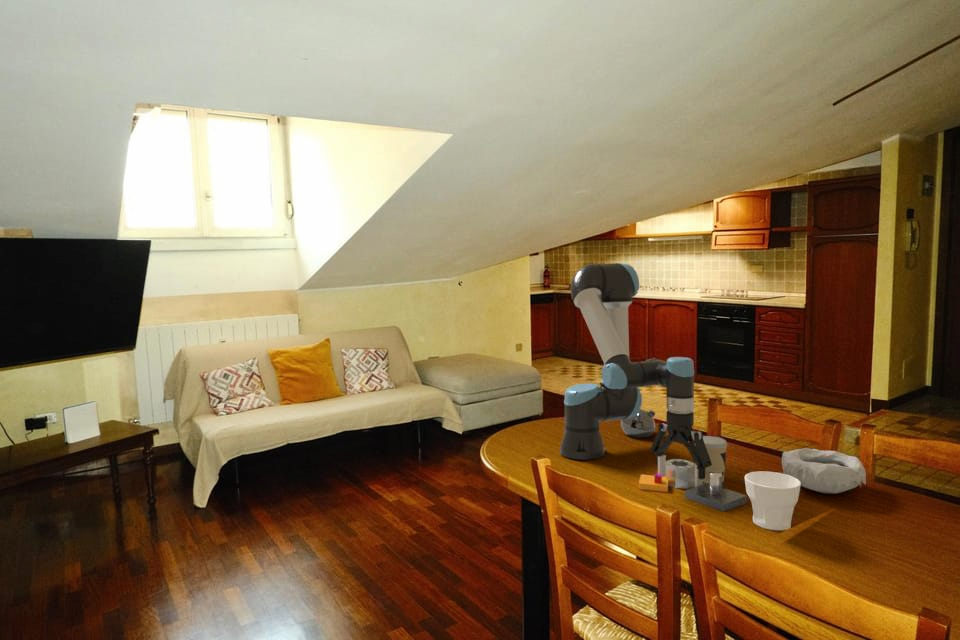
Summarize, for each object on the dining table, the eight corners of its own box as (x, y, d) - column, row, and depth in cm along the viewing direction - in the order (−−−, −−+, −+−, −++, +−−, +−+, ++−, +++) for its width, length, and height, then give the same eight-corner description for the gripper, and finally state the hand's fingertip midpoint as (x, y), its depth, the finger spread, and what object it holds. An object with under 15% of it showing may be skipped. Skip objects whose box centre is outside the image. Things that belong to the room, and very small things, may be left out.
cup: (774, 538, 138) (775, 491, 138) (732, 518, 150) (733, 475, 149) (812, 528, 143) (813, 483, 143) (768, 510, 155) (769, 468, 154)
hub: (659, 482, 176) (659, 462, 176) (677, 477, 181) (677, 457, 180) (682, 490, 170) (682, 469, 169) (700, 484, 174) (700, 464, 174)
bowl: (795, 473, 182) (796, 440, 181) (874, 489, 167) (875, 454, 167) (770, 491, 168) (770, 456, 167) (853, 511, 153) (854, 472, 152)
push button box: (638, 490, 172) (638, 476, 171) (641, 481, 179) (641, 467, 179) (667, 493, 169) (667, 479, 168) (668, 484, 176) (669, 470, 176)
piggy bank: (642, 446, 213) (642, 415, 212) (612, 437, 225) (612, 407, 225) (664, 441, 218) (664, 410, 218) (634, 432, 231) (634, 403, 230)
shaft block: (684, 497, 164) (684, 471, 164) (707, 490, 170) (707, 464, 169) (723, 511, 154) (724, 483, 154) (746, 502, 160) (746, 475, 159)
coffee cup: (729, 485, 173) (730, 444, 172) (695, 484, 175) (696, 443, 174) (723, 474, 182) (723, 436, 181) (691, 473, 184) (691, 435, 183)
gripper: (638, 405, 182) (638, 474, 183) (708, 420, 161) (708, 498, 163) (655, 402, 186) (655, 469, 187) (725, 416, 165) (724, 492, 167)
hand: (679, 483), depth 175 cm, fingers open, 12 cm apart
